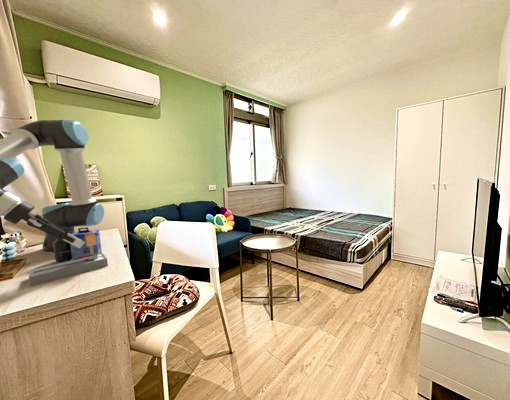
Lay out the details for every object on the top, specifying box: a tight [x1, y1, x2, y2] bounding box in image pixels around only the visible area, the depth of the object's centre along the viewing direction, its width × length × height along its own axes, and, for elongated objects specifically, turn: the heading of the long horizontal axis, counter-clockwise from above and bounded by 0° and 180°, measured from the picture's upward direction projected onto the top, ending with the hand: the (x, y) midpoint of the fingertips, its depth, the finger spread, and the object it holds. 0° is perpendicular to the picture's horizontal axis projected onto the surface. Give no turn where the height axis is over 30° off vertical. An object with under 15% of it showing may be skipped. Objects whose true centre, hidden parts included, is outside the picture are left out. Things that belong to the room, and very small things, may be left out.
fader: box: [84, 232, 98, 260], centre depth 87 cm, size 3×6×10 cm, turn 44°
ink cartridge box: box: [70, 226, 103, 261], centre depth 96 cm, size 10×6×14 cm, turn 113°
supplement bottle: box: [53, 232, 72, 263], centre depth 96 cm, size 7×7×12 cm
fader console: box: [28, 252, 109, 287], centre depth 83 cm, size 22×9×3 cm, turn 134°
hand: (82, 245), depth 85 cm, fingers closed
